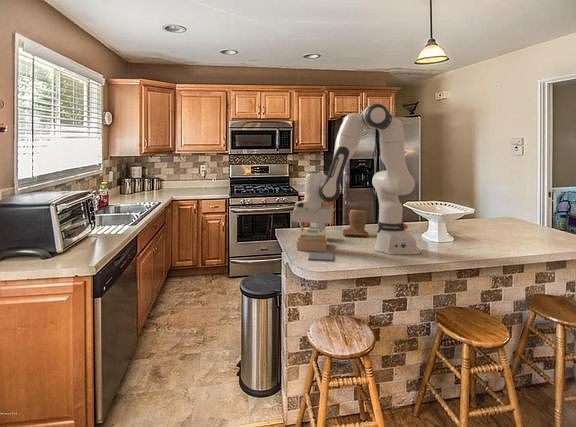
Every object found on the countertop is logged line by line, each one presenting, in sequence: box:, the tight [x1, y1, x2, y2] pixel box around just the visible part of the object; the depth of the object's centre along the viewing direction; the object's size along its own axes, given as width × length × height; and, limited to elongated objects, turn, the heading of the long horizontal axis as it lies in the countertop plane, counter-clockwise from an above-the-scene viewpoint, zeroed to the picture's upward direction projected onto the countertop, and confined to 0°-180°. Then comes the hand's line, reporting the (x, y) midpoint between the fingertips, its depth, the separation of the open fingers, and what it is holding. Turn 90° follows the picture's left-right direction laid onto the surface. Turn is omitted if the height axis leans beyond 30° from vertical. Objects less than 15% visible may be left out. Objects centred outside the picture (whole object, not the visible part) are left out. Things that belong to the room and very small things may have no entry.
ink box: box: [309, 223, 327, 230], centre depth 213 cm, size 8×5×12 cm, turn 141°
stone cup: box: [342, 209, 369, 237], centre depth 223 cm, size 15×12×15 cm
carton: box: [296, 228, 328, 252], centre depth 196 cm, size 14×20×7 cm
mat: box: [307, 251, 334, 262], centre depth 178 cm, size 11×11×1 cm
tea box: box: [307, 227, 318, 238], centre depth 196 cm, size 5×6×9 cm
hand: (311, 231), depth 195 cm, fingers open, 8 cm apart
